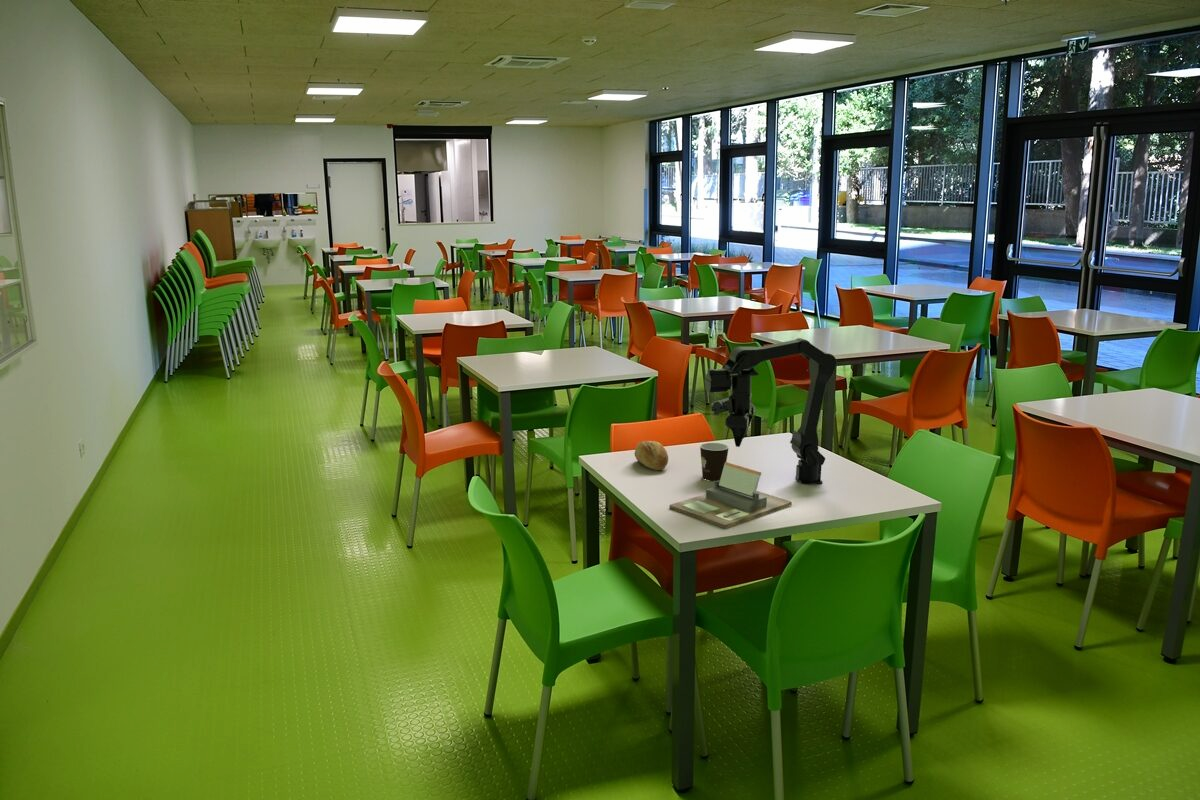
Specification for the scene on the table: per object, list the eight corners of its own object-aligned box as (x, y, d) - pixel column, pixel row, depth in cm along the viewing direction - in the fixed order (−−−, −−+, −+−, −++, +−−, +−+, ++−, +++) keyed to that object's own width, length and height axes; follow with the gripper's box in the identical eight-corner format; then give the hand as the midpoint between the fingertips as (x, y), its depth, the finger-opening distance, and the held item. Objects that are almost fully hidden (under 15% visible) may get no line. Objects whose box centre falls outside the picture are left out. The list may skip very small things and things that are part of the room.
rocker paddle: (720, 486, 245) (726, 462, 246) (755, 498, 236) (762, 472, 236) (717, 486, 245) (723, 461, 245) (752, 497, 235) (759, 472, 235)
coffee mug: (728, 482, 260) (729, 450, 258) (699, 482, 261) (700, 450, 259) (725, 471, 272) (726, 440, 270) (697, 470, 272) (698, 439, 270)
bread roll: (646, 474, 268) (647, 449, 267) (627, 461, 282) (628, 437, 280) (674, 471, 272) (675, 446, 270) (654, 458, 285) (655, 434, 284)
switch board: (736, 487, 256) (737, 470, 255) (791, 505, 241) (792, 487, 240) (669, 508, 238) (669, 490, 237) (724, 528, 224) (725, 509, 222)
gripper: (718, 383, 263) (717, 432, 267) (707, 396, 246) (707, 449, 249) (755, 384, 260) (754, 434, 264) (747, 398, 243) (746, 451, 246)
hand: (739, 442), depth 256 cm, fingers open, 9 cm apart
